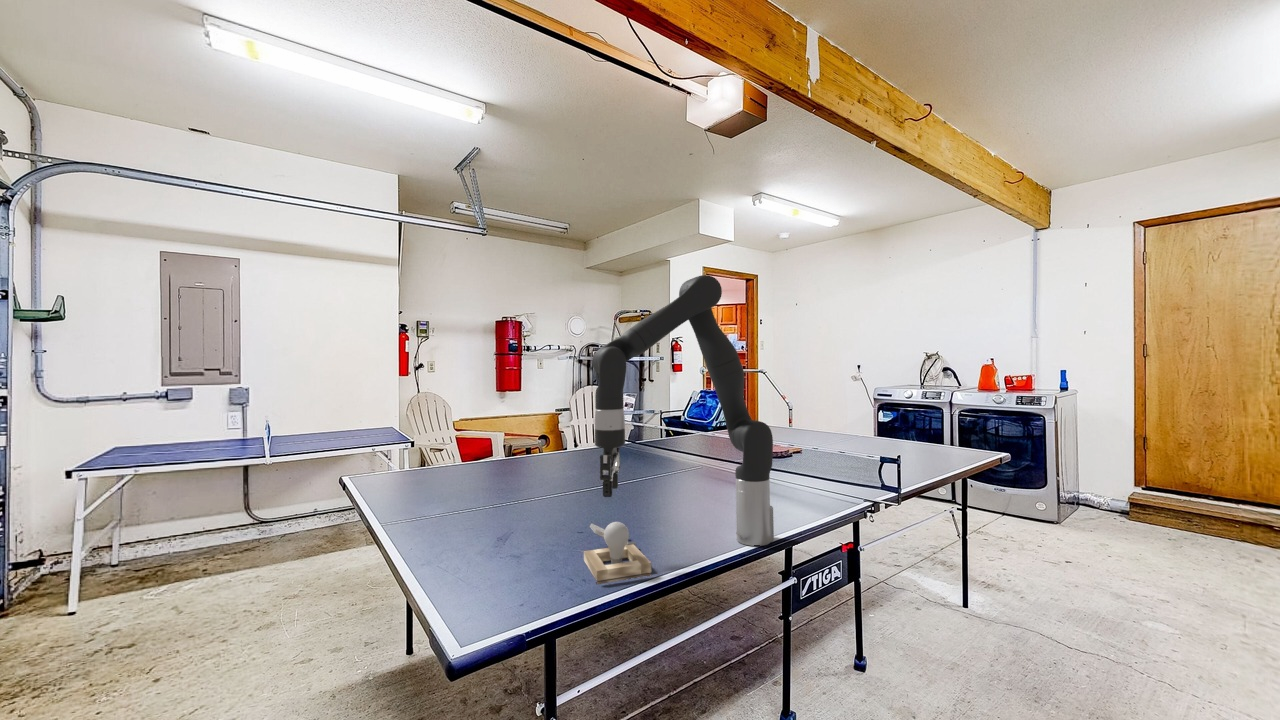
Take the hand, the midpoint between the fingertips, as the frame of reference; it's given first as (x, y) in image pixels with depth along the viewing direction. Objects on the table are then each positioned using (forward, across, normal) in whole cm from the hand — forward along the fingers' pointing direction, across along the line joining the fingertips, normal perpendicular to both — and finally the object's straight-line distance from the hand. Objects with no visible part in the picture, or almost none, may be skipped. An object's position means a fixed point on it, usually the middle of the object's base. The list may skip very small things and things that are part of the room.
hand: (610, 492), depth 123 cm
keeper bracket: (+18, +11, -2) cm, 21 cm away
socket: (+17, -4, -2) cm, 18 cm away
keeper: (+15, +9, +2) cm, 17 cm away
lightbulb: (+18, -3, -2) cm, 18 cm away
